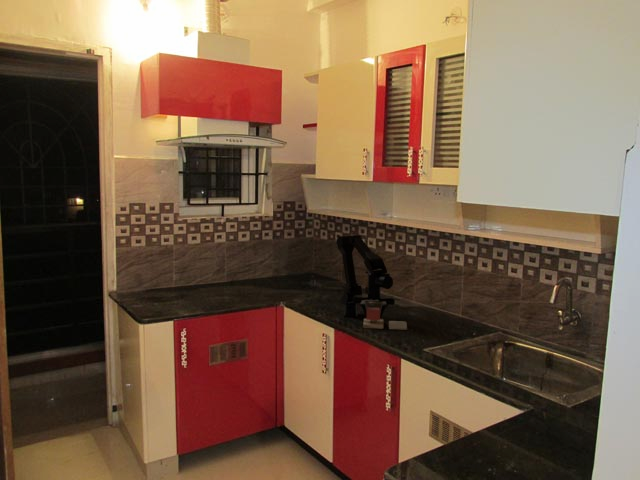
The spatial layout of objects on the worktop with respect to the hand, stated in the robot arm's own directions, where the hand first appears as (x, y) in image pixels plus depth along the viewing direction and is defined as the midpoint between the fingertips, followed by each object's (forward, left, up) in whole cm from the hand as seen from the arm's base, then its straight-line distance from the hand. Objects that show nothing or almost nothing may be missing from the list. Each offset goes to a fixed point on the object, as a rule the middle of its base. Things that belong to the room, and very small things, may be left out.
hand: (373, 318), depth 248 cm
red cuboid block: (0, 0, 0) cm, 0 cm away
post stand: (0, 0, -3) cm, 3 cm away
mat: (0, +11, -3) cm, 11 cm away
